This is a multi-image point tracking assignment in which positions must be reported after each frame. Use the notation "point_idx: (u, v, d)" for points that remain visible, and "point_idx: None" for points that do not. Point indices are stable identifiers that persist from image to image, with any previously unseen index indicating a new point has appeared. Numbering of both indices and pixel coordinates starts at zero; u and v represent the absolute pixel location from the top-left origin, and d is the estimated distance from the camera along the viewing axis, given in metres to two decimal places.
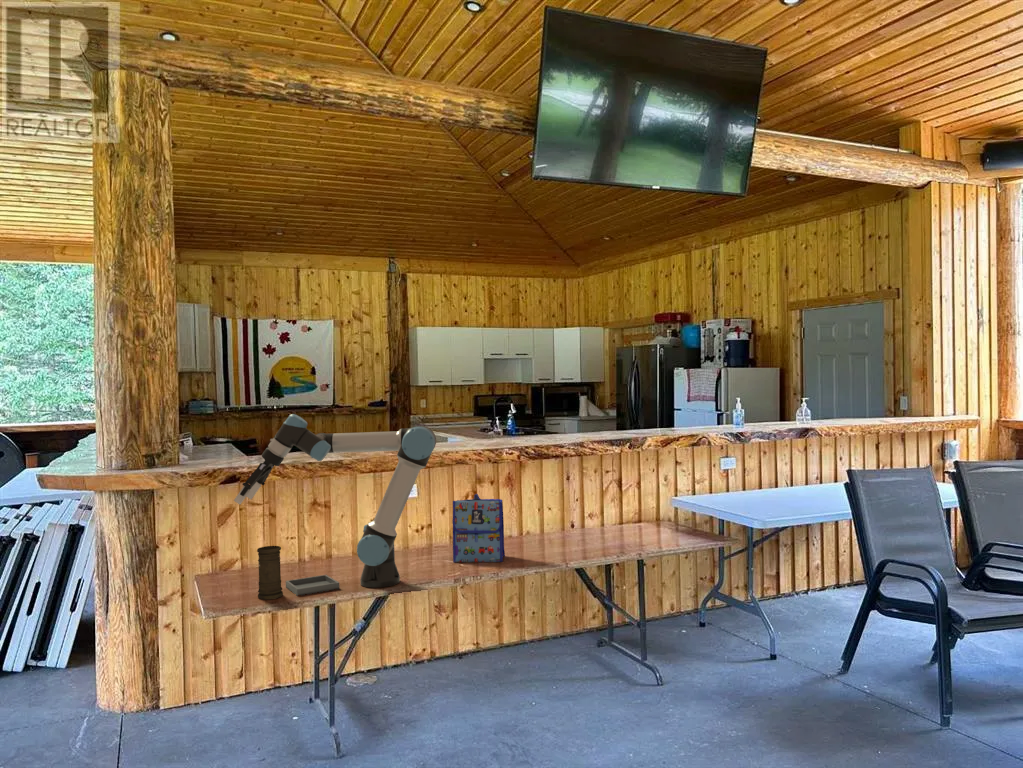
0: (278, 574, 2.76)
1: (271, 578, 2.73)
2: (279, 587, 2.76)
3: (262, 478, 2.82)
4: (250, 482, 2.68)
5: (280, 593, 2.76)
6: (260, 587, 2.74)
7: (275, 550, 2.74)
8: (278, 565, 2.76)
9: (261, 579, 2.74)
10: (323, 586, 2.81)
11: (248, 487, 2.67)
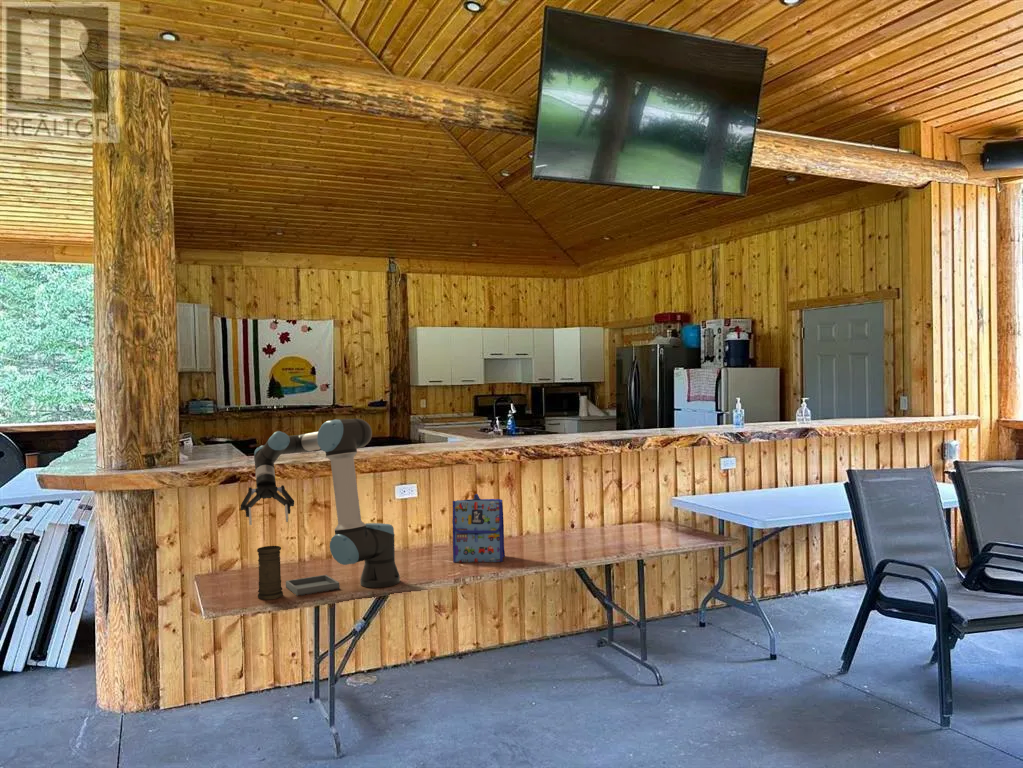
0: (278, 574, 2.76)
1: (271, 578, 2.73)
2: (279, 587, 2.76)
3: (281, 500, 2.99)
4: None
5: (280, 593, 2.76)
6: (260, 587, 2.74)
7: (275, 550, 2.74)
8: (278, 565, 2.76)
9: (261, 579, 2.74)
10: (323, 586, 2.81)
11: None
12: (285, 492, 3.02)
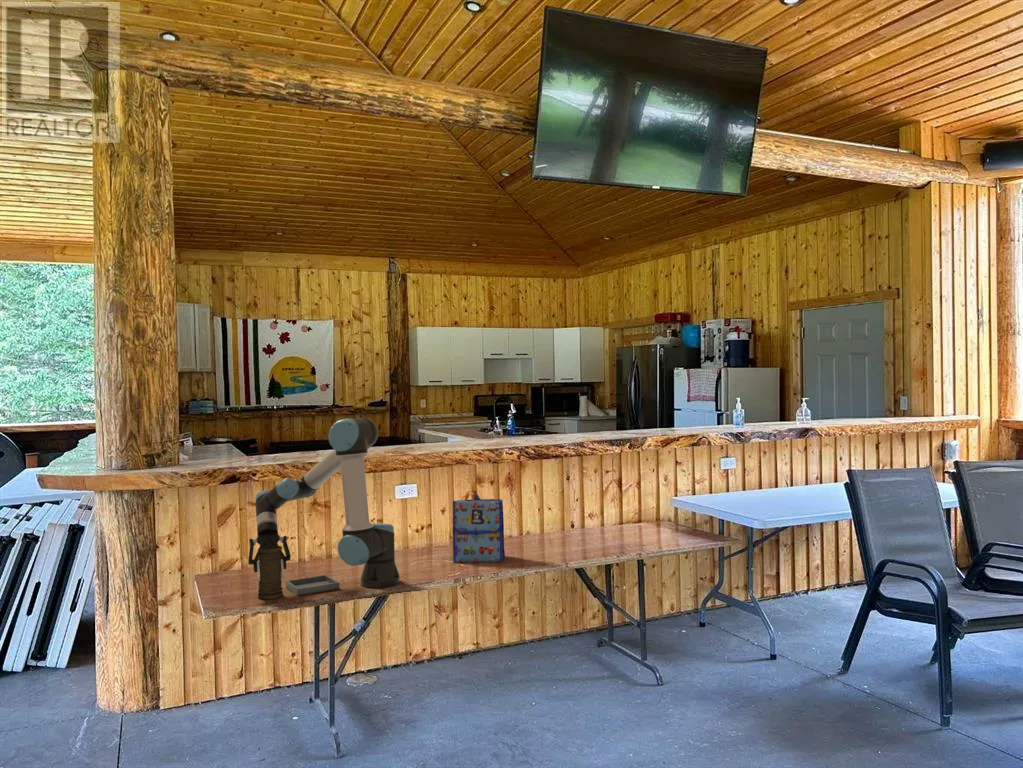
0: (278, 574, 2.76)
1: (271, 578, 2.73)
2: (279, 587, 2.76)
3: None
4: None
5: (280, 593, 2.76)
6: (260, 587, 2.74)
7: (276, 550, 2.74)
8: (279, 565, 2.76)
9: (261, 579, 2.74)
10: (323, 586, 2.81)
11: (248, 560, 2.76)
12: (285, 544, 2.84)
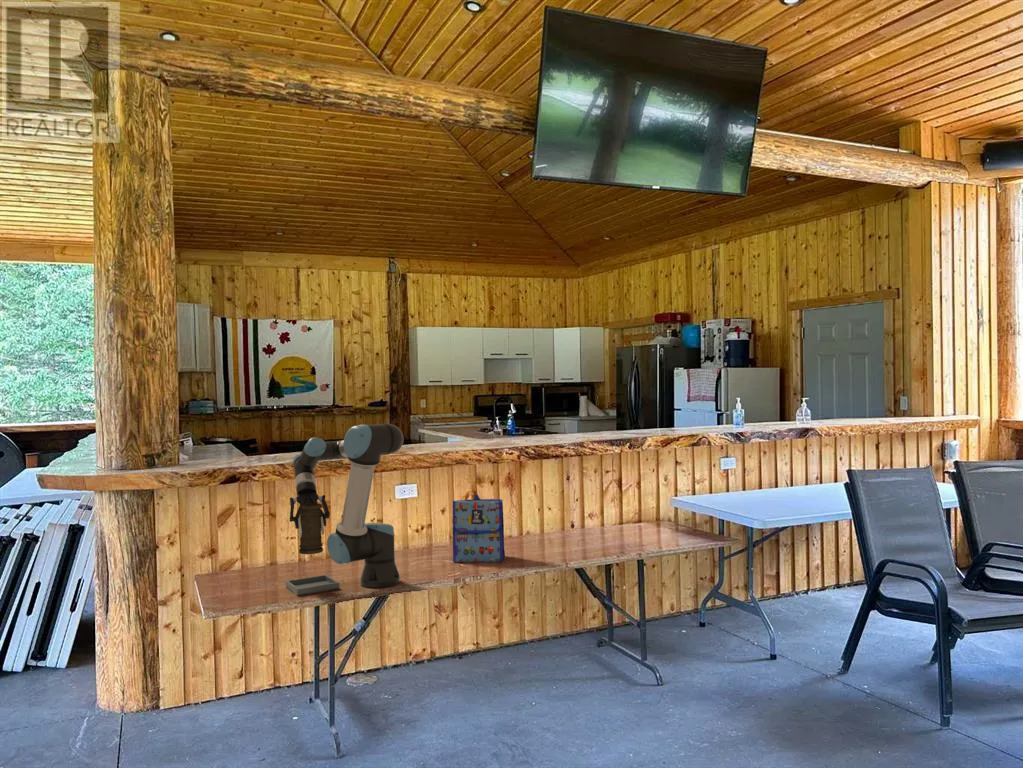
0: (319, 530, 2.86)
1: (312, 534, 2.84)
2: (320, 543, 2.86)
3: None
4: None
5: (321, 549, 2.86)
6: (302, 542, 2.84)
7: (317, 507, 2.85)
8: (319, 522, 2.86)
9: (303, 535, 2.84)
10: (323, 586, 2.81)
11: (290, 517, 2.86)
12: (324, 502, 2.94)
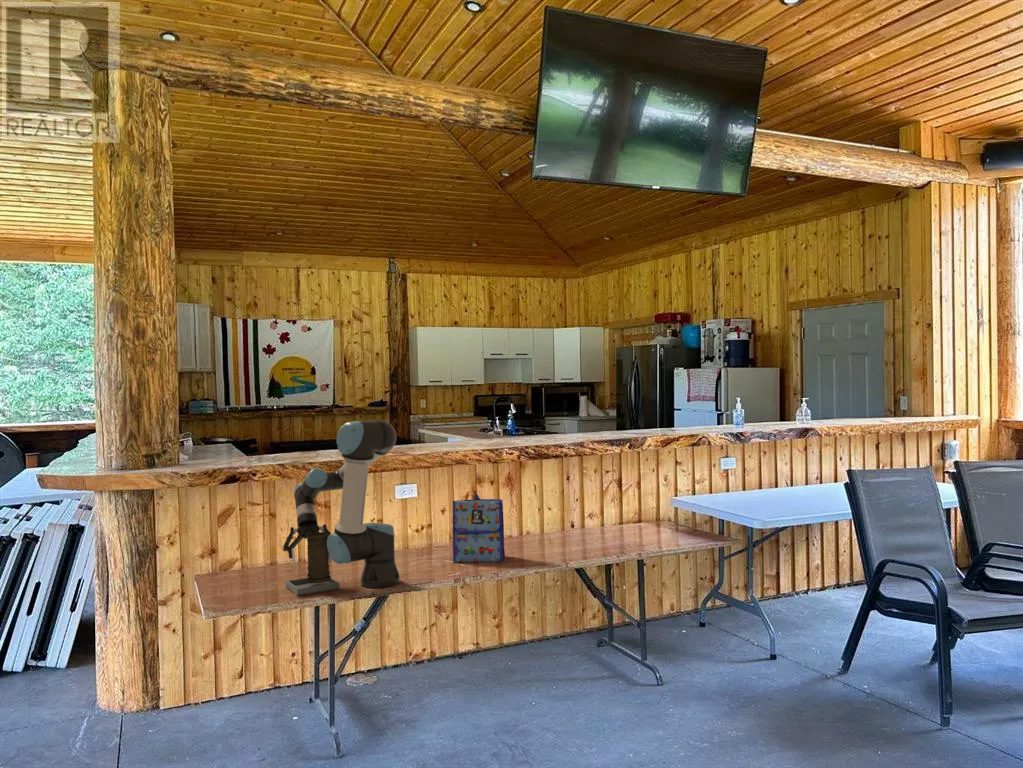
0: (326, 559, 2.88)
1: (320, 563, 2.85)
2: (327, 571, 2.88)
3: None
4: None
5: (328, 577, 2.88)
6: (309, 571, 2.86)
7: (324, 536, 2.87)
8: (326, 550, 2.88)
9: (310, 564, 2.86)
10: (323, 586, 2.81)
11: (283, 547, 2.86)
12: (327, 531, 2.95)
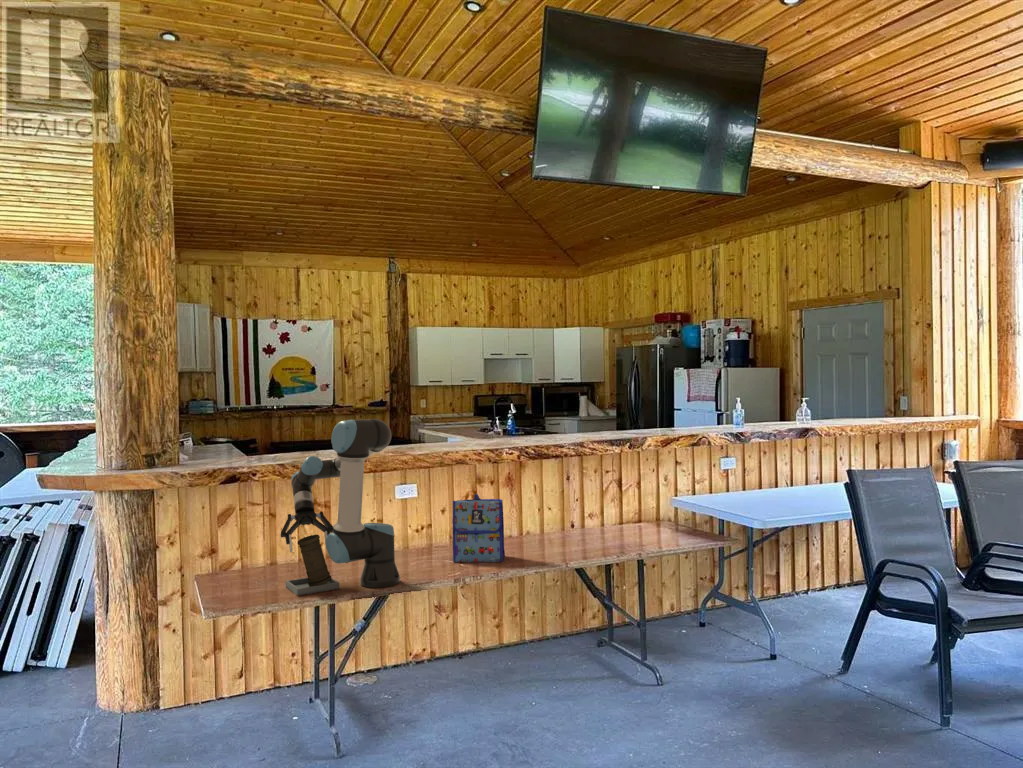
0: (322, 561, 2.87)
1: (316, 566, 2.85)
2: (326, 572, 2.88)
3: (320, 527, 2.98)
4: None
5: (328, 578, 2.88)
6: (308, 576, 2.86)
7: (314, 540, 2.85)
8: (320, 553, 2.87)
9: (307, 569, 2.85)
10: (323, 586, 2.81)
11: None
12: (324, 518, 3.00)
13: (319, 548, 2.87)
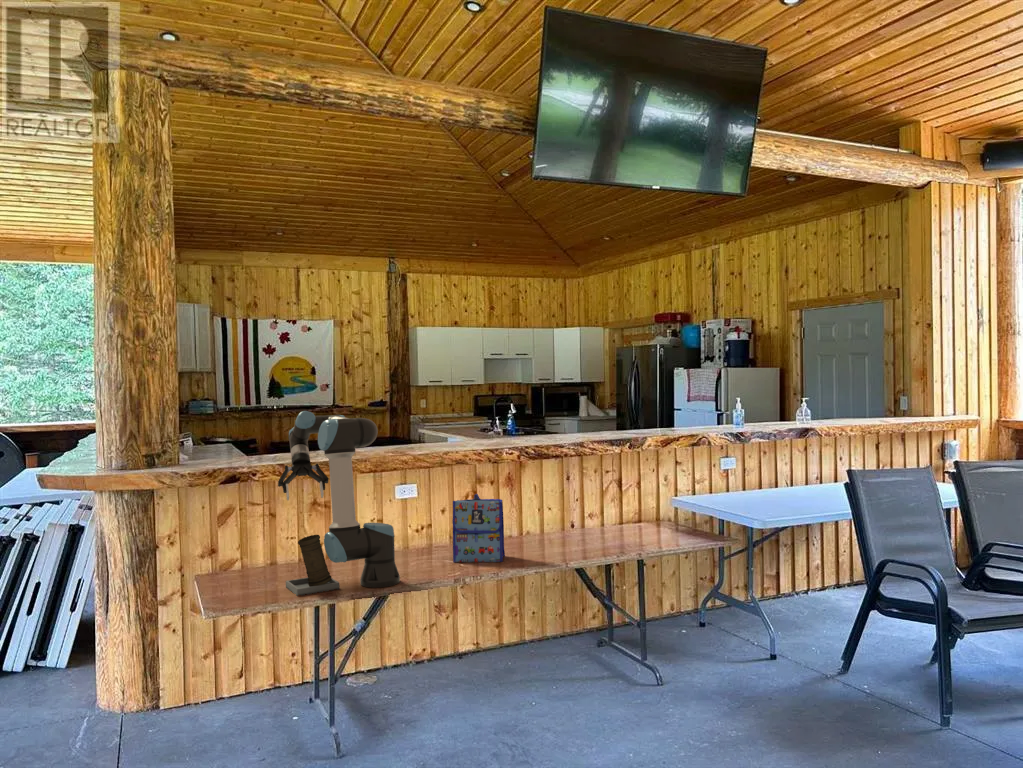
0: (322, 561, 2.87)
1: (316, 566, 2.85)
2: (326, 573, 2.87)
3: (316, 477, 3.13)
4: None
5: (328, 578, 2.88)
6: (308, 576, 2.86)
7: (314, 540, 2.85)
8: (321, 553, 2.87)
9: (308, 569, 2.85)
10: (323, 586, 2.81)
11: (278, 483, 3.06)
12: (319, 470, 3.16)
13: (319, 548, 2.86)
